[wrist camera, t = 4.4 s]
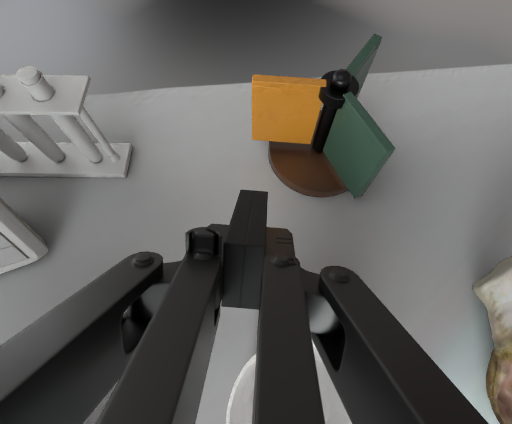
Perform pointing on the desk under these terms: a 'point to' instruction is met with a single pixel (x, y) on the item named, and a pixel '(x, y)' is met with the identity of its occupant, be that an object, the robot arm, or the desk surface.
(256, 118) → the three-panel rotating stand
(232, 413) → the cup
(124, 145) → the test tube rack
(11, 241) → the digital clock
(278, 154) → the rack stand
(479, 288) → the ceramic sculpture
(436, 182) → the desk surface
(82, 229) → the desk surface
